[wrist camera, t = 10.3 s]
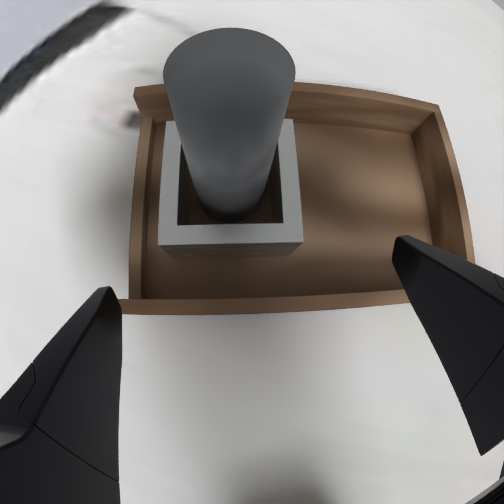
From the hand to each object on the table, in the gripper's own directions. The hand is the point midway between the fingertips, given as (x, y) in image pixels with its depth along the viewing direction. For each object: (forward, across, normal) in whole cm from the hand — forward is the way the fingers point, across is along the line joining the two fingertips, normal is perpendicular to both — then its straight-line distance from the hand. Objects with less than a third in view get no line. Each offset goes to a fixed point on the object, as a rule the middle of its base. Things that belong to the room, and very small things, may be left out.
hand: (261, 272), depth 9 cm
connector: (+12, 0, +3) cm, 13 cm away
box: (+12, -5, +4) cm, 14 cm away
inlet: (+12, 0, +3) cm, 13 cm away
